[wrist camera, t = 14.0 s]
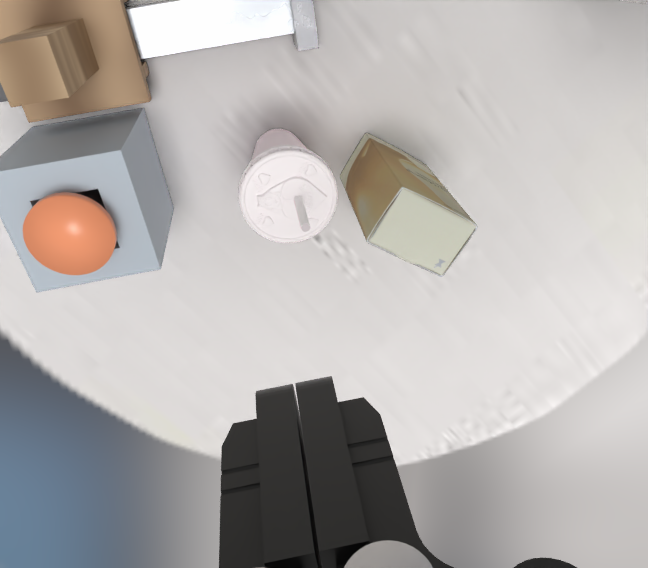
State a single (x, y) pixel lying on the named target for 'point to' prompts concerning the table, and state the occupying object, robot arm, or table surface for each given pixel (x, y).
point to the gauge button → (70, 232)
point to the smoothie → (286, 189)
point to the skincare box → (405, 206)
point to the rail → (216, 24)
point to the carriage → (69, 57)
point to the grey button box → (88, 174)
